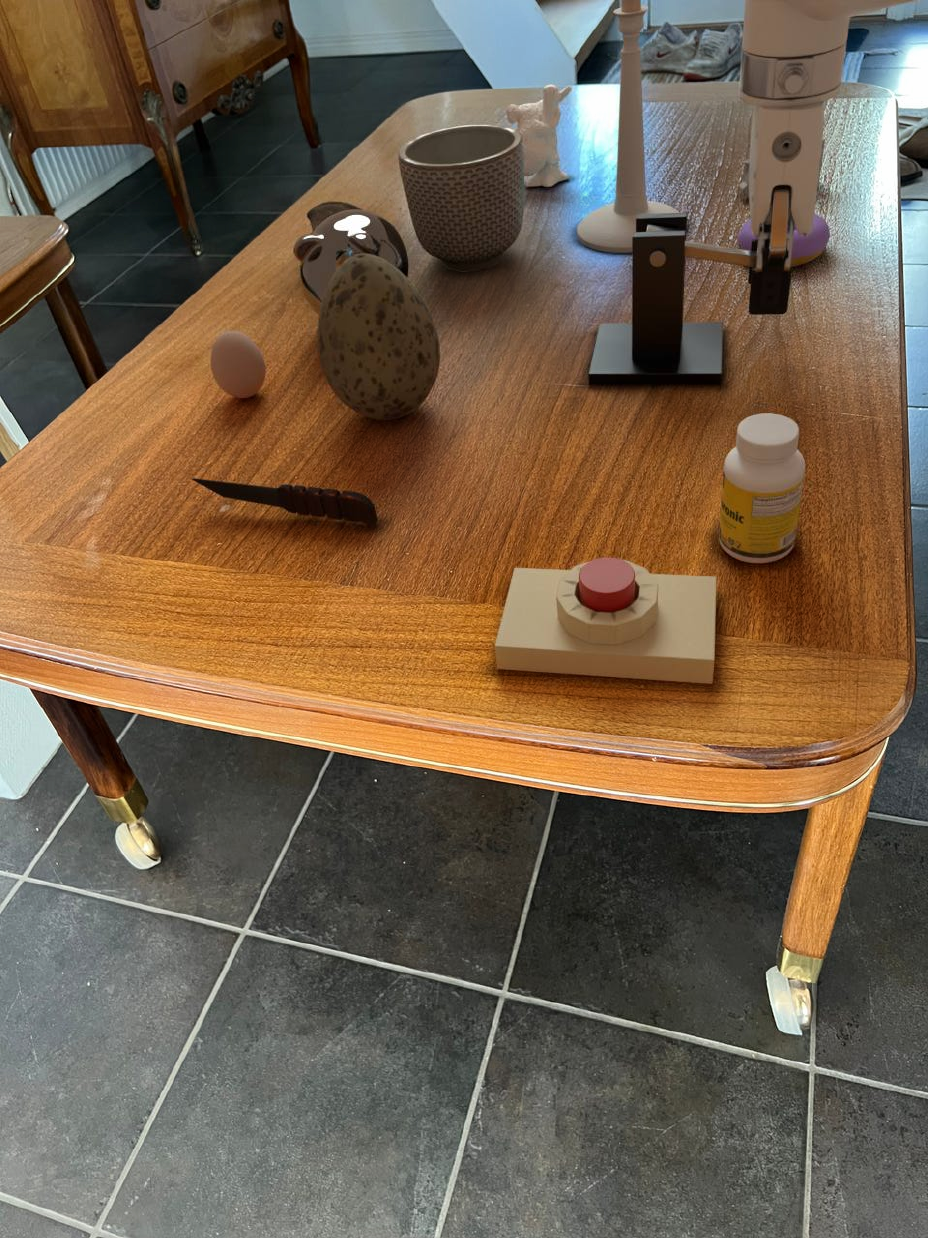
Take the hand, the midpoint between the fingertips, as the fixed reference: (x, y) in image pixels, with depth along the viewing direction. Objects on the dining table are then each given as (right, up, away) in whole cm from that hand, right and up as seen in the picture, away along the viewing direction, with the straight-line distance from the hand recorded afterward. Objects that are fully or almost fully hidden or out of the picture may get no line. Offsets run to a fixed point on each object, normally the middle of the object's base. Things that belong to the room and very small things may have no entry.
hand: (766, 295), depth 85 cm
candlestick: (-7, +18, +29) cm, 35 cm away
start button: (-18, -27, -23) cm, 39 cm away
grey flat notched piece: (+12, +23, +32) cm, 42 cm away
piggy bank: (-38, +3, +19) cm, 43 cm away
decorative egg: (-34, -10, +5) cm, 36 cm away
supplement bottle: (-6, -23, -15) cm, 28 cm away
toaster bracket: (-8, -4, +6) cm, 11 cm away
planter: (-26, +14, +28) cm, 41 cm away
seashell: (-41, +15, +33) cm, 55 cm away
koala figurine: (-16, +30, +44) cm, 56 cm away
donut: (+8, +11, +20) cm, 24 cm away
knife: (-42, -20, -5) cm, 47 cm away
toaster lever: (-5, +2, -1) cm, 6 cm away
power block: (-17, -30, -20) cm, 40 cm away
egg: (-49, -7, +11) cm, 50 cm away
